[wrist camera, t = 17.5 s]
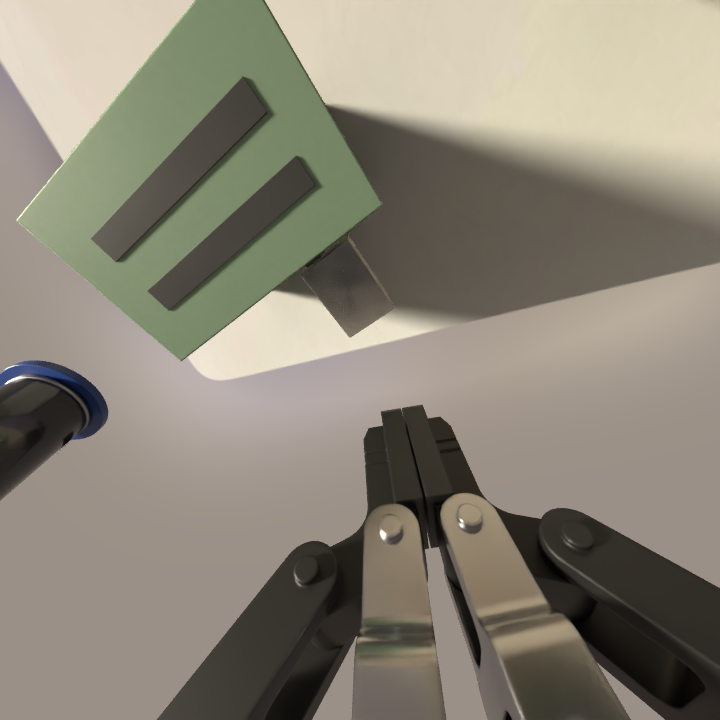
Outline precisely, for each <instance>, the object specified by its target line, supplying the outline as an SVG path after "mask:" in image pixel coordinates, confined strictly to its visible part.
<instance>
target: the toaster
mask: <svg viewBox="0 0 720 720" xmlns="http://www.w3.org/2000/svg"><path fill="white" fill-rule="evenodd" d="M382 205H383V203H382V201H381V200H380V198H379V196H378V194H377V193H376V191H375V189H374V188H373V186H372V184H371V182H370V181H369V179H368V177H367V176H366V174H365V172H364V170H363V169H362V167H361V165H360V163H359V162H358V160H357V158H356V157H355V155H354V153H353V151H352V150H351V148H350V146H349V145H348V143H347V141H346V139H345V138H344V136H343V134H342V133H341V131H340V129H339V127H338V126H337V124H336V122H335V121H334V119H333V117H332V115H331V114H330V112H329V110H328V109H327V107H326V105H325V103H324V102H323V100H322V98H321V97H320V95H319V93H318V91H317V90H316V88H315V86H314V85H313V83H312V81H311V79H310V78H309V76H308V74H307V72H306V71H305V69H304V67H303V66H302V64H301V62H300V60H299V59H298V57H297V55H296V54H295V52H294V50H293V48H292V47H291V45H290V43H289V42H288V40H287V38H286V36H285V35H284V33H283V31H282V30H281V28H280V26H279V24H278V23H277V21H276V19H275V18H274V16H273V14H272V12H271V11H270V9H269V7H268V6H267V4H266V2H265V0H195V1H194V3H193V4H192V5H191V6H190V8H189V9H188V10H187V11H186V12H185V14H184V15H183V16H182V17H181V19H180V20H179V21H178V22H177V24H176V25H175V26H174V27H173V28H172V30H171V31H170V32H169V33H168V35H167V36H166V37H165V38H164V40H163V41H162V42H161V43H160V44H159V46H158V47H157V48H156V49H155V51H154V52H153V53H152V54H151V55H150V57H149V58H148V59H147V60H146V62H145V63H144V64H143V65H142V67H141V68H140V69H139V70H138V71H137V73H136V74H135V75H134V76H133V78H132V79H131V80H130V81H129V82H128V84H127V85H126V86H125V87H124V89H123V90H122V91H121V92H120V94H119V95H118V96H117V97H116V98H115V100H114V101H113V102H112V103H111V105H110V106H109V107H108V108H107V109H106V111H105V112H104V113H103V114H102V116H101V117H100V118H99V119H98V121H97V122H96V123H95V124H94V125H93V127H92V128H91V129H90V130H89V132H88V133H87V134H86V135H85V136H84V138H83V139H82V140H81V141H80V143H79V144H78V145H77V146H76V148H75V149H74V150H73V151H72V152H71V154H70V155H69V156H68V157H67V159H66V160H65V161H64V162H63V164H62V165H61V166H60V167H59V168H58V170H57V171H56V172H55V173H54V175H53V176H52V177H51V178H50V179H49V181H48V182H47V183H46V185H45V186H44V187H43V188H42V190H41V191H40V192H39V193H38V194H37V195H36V197H35V198H34V199H33V200H32V202H31V203H30V204H29V205H28V206H27V208H26V209H25V210H24V211H23V213H22V214H21V215H20V216H19V218H18V219H17V222H18V223H20V224H21V225H22V226H23V227H24V228H25V229H27V230H28V231H29V232H30V233H31V234H32V235H34V236H35V237H36V238H37V239H38V240H39V241H41V242H42V243H43V244H44V245H45V246H47V247H48V248H49V249H50V250H51V251H52V252H53V253H55V254H56V255H57V256H58V257H59V258H61V259H62V260H63V261H64V262H65V263H66V264H67V265H69V266H70V267H71V268H72V269H74V270H75V271H76V272H77V273H78V274H79V275H80V276H82V277H83V278H84V279H85V280H86V281H87V282H89V283H90V284H91V285H92V286H93V287H95V288H96V289H97V290H98V291H99V292H100V293H102V294H103V295H104V296H105V297H106V298H107V299H109V300H110V301H111V302H112V303H113V304H114V305H115V306H117V307H118V308H119V309H120V310H121V311H123V312H124V313H125V314H126V315H127V316H128V317H130V318H131V319H132V320H133V321H134V322H135V323H137V324H138V325H139V326H140V327H142V328H143V329H144V330H145V331H146V332H147V333H148V334H150V335H151V336H152V337H153V338H154V339H155V340H157V341H158V342H159V343H160V344H161V345H162V346H164V347H165V348H166V349H167V350H168V351H170V352H171V353H172V354H173V355H174V356H175V357H177V358H178V359H179V360H180V361H182V360H183V359H185V358H186V357H187V356H189V355H190V354H191V353H193V352H194V351H195V350H197V349H198V348H199V347H200V346H202V345H203V344H204V343H206V342H207V341H208V340H209V339H211V338H212V337H213V336H215V335H216V334H217V333H218V332H220V331H221V330H222V329H224V328H225V327H226V326H227V325H229V324H230V323H231V322H233V321H234V320H235V319H237V318H238V317H239V316H240V315H242V314H243V313H244V312H246V311H247V310H248V309H249V308H251V307H252V306H253V305H255V304H256V303H257V302H258V301H260V300H261V299H262V298H264V297H265V296H266V295H267V294H269V293H270V292H271V291H273V290H274V289H275V288H276V287H278V286H279V285H280V284H282V283H283V282H284V281H286V280H287V279H288V278H289V277H291V276H292V275H293V274H295V273H296V272H297V271H298V270H300V269H301V268H302V267H304V266H306V268H308V267H310V266H311V265H312V264H314V263H315V262H316V261H317V260H319V259H320V258H321V257H322V255H323V253H324V251H325V249H327V248H328V247H329V246H331V245H332V244H333V243H335V242H336V241H337V240H338V239H340V238H341V237H342V236H344V235H345V234H346V233H347V232H349V231H350V230H351V229H353V228H354V227H355V226H356V225H358V224H359V223H360V222H362V221H363V220H364V219H365V218H367V217H368V216H369V215H371V214H372V213H373V212H375V211H376V210H377V209H378V208H380V207H381V206H382Z"/></svg>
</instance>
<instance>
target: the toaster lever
mask: <svg viewBox="0 0 720 720" xmlns="http://www.w3.org/2000/svg"><path fill="white" fill-rule="evenodd" d="M301 277H302V278H303V280H304V281H305V282H306V283H307V285H308V286H309V287H310V288H311V290H312V291H313V292H314V293H315V295H316V296H317V297H318V298H319V300H320V301H321V302H322V303H323V305H324V306H325V307H326V309H327V310H328V311H329V312H330V314H331V315H332V316H333V317H334V319H335V320H336V321H337V322H338V324H339V325H340V326H341V327H342V329H343V330H344V331H345V332H346V334H347V335H348V336H349V337H352V336H354V335H355V334H357V333H358V332H360V331H361V330H363V329H364V328H366V327H367V326H369V325H370V324H372V323H373V322H375V321H376V320H378V319H379V318H381V317H382V316H384V315H385V314H387V313H388V312H390V311H391V310H393V309H394V305H393V303H392V300H391V298H390V297H389V295H388V294H387V292H386V291H385V289H384V288H383V286H382V285H381V283H380V282H379V280H378V279H377V277H376V276H375V274H374V273H373V271H372V270H371V268H370V267H369V265H368V264H367V262H366V261H365V259H364V258H363V256H362V255H361V253H360V252H359V250H358V249H357V247H356V246H355V244H354V243H353V241H352V240H351V238H350V237H349V235H347V236H346V237H344V238H343V239H342V240H340V241H339V242H338V243H337V244H335V245H334V246H333V247H331V248H330V249H329V250H327V251H326V252H325V253H324V254H323V255H322V257H321V258H320V259H319V260H317V261H316V262H315V263H314V264H312V265H311V266H310V267H308V268H306V267H305V269H304V270H303V272H302V273H301Z"/></svg>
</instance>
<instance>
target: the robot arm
mask: <svg viewBox="0 0 720 720" xmlns="http://www.w3.org/2000/svg"><path fill="white" fill-rule="evenodd" d="M402 413H403V415H402ZM381 415H382V422H383V426H379V427H373V428H369V429H368V431H367V433H366V436H365V438H364V453H365V468H366V483H367V484H366V485H367V501H368V511H367V516H366V519H365V521H364V523H363V525H362V526H361V527H360V529H359V530H358V531H357V532H356V533H354V534H353V535H352V536H350V537H349V538H347V539H345V540H343V541H341V542H339V543H337V544H335V545H333V546H331V547H329V546H328V545H327V544H325V543H322V542H319V541H310V542H307V543H304V544H302V545H300V546H298V547H297V548H296V549H294V550H293V551H292V552H291V553H290V554H289V555H288V557H287V558H286V559H285V561H284V562H283V563H282V564H281V565H280V567H279V568H278V569H277V570H276V572H275V573H274V574H273V576H272V577H271V578H270V579H269V580H268V582H267V583H266V584H265V585H264V587H263V588H262V589H261V590H260V592H259V593H258V594H257V595H256V597H255V598H254V599H253V600H252V602H251V603H250V604H249V605H248V607H247V608H246V609H245V611H244V612H243V613H242V614H241V615H240V617H239V618H238V619H237V620H236V622H235V623H234V624H233V625H232V627H231V628H230V629H229V630H228V632H227V633H226V634H225V635H224V637H223V638H222V639H221V640H220V642H219V643H218V644H217V645H216V647H215V648H214V649H213V650H212V652H211V653H210V654H209V656H208V657H207V658H206V659H205V660H204V662H203V663H202V664H201V665H200V667H199V668H198V669H197V670H196V672H195V673H194V674H193V675H192V677H191V678H190V679H189V681H188V682H187V683H186V684H185V685H184V687H183V688H182V689H181V690H180V692H179V693H178V694H177V695H176V697H175V698H174V699H173V700H172V702H171V703H170V704H169V705H168V707H167V708H166V709H165V710H164V711H163V713H162V714H161V715H160V716H159V718H158V719H157V720H312V719H313V716H314V715H315V713H316V711H317V709H318V707H319V705H320V703H321V702H322V699H323V698H324V695H325V694H326V692H327V690H328V688H329V686H330V684H331V683H332V681H333V679H334V677H335V675H336V673H337V671H338V670H339V667H340V666H341V664H342V662H343V660H344V658H345V656H346V654H347V653H348V651H349V649H350V647H351V645H352V643H353V641H354V639H355V637H356V636H358V637H357V641H356V646H355V657H354V679H353V703H352V720H446V714H445V707H444V700H443V692H442V685H441V678H440V671H439V664H438V657H437V649H436V642H435V636H434V630H433V622H432V615H431V607H430V600H429V593H428V586H427V582H428V571H427V564H426V555H425V549H428V548H429V546H428V538H427V533H428V537H429V541H430V546H431V548H434V547H439V549H440V552H441V556H442V560H443V564H444V574H445V579H446V582H447V585H448V588H449V591H450V595H451V598H452V601H453V604H454V607H455V610H456V613H457V616H458V619H459V622H460V625H461V628H462V632H463V635H464V638H465V641H466V644H467V647H468V650H469V653H470V656H471V659H472V662H473V665H474V668H475V672H476V676H477V680H478V684H479V690H480V694H481V697H482V701H483V705H484V709H485V712H486V715H487V719H488V720H631V719H630V718H629V716H628V714H627V713H626V711H625V709H624V708H623V706H622V704H621V702H620V701H619V699H618V697H617V696H616V694H615V693H614V691H613V689H612V688H611V686H610V684H609V683H608V681H607V679H606V677H605V676H604V674H603V672H602V671H601V669H600V668H599V666H598V664H597V663H599V664H600V665H601V666H602V667H603V668H604V669H605V670H607V671H608V672H609V673H610V674H612V675H613V676H614V677H615V678H616V679H617V680H619V681H620V682H621V683H622V684H623V685H625V686H626V687H627V688H628V689H629V690H631V691H632V692H633V693H634V694H635V695H636V696H638V697H639V698H640V699H641V700H642V701H644V702H645V703H646V704H647V705H648V706H650V707H651V708H652V709H653V710H654V711H656V712H657V713H658V714H659V715H660V716H662V717H663V718H664V719H665V720H720V588H718V587H717V586H715V585H713V584H711V583H709V582H708V581H706V580H704V579H702V578H700V577H698V576H697V575H695V574H693V573H691V572H689V571H688V570H686V569H684V568H682V567H680V566H679V565H677V564H675V563H673V562H671V561H669V560H668V559H666V558H664V557H662V556H660V555H659V554H657V553H655V552H653V551H651V550H650V549H648V548H646V547H644V546H642V545H640V544H639V543H637V542H635V541H633V540H631V539H630V538H628V537H626V536H624V535H622V534H620V533H619V532H617V531H615V530H613V529H611V528H609V527H608V526H606V525H604V524H602V523H600V522H599V521H597V520H595V519H593V518H591V517H590V516H588V515H586V514H584V513H581V512H579V511H576V510H572V509H567V508H557V509H552V510H550V511H548V512H546V513H545V514H544V515H543V517H542V519H538V518H532V517H527V516H520V515H515V514H511V513H507V512H505V511H502V510H500V509H498V508H497V507H495V506H494V505H492V504H491V503H490V502H489V501H487V499H486V498H485V497H484V496H483V495H482V493H481V492H480V490H479V488H478V485H477V483H476V481H475V479H474V476H473V474H472V472H471V470H470V467H469V465H468V463H467V461H466V459H465V457H464V454H463V452H462V450H461V448H460V445H459V443H458V441H457V440H456V437H455V434H454V432H453V430H452V428H451V426H450V425H449V424H448V423H447V422H446V421H444V420H443V419H442V418H441V417H435V418H429V419H428V418H427V415H426V413H425V410H424V407H423V405H417V406H411V407H405V408H402V412H401V409H400V408H399V409H393V410H387V411H381ZM91 418H92V414H91V410H90V407H89V405H88V403H87V402H86V400H85V399H84V398H83V397H82V396H81V395H80V394H79V393H78V392H77V391H76V390H74V389H73V388H72V387H70V386H69V385H67V384H65V383H63V382H61V381H59V380H57V379H54V378H51V377H48V376H44V375H38V374H25V375H20V376H17V377H15V378H13V379H12V380H10V381H8V382H7V383H6V384H4V385H3V386H1V387H0V500H2V499H3V498H4V497H5V496H6V495H7V494H9V493H10V492H11V491H12V490H13V489H14V488H15V487H17V486H18V485H19V484H20V483H21V482H22V481H24V480H25V479H26V478H27V477H28V476H29V475H30V474H32V473H33V472H34V471H35V470H36V469H37V468H38V467H40V466H41V465H42V464H43V463H44V462H46V460H48V459H49V458H50V457H51V456H52V455H54V454H55V453H56V452H57V451H58V450H59V449H61V448H62V447H63V446H64V445H65V444H67V443H68V442H69V441H70V440H71V439H72V438H73V437H74V438H75V437H76V435H77V434H78V433H80V432H82V431H83V430H84V429H85V428H86V427H87V426H88V425H89V424H90V422H91ZM65 446H66V445H65Z"/></svg>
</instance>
